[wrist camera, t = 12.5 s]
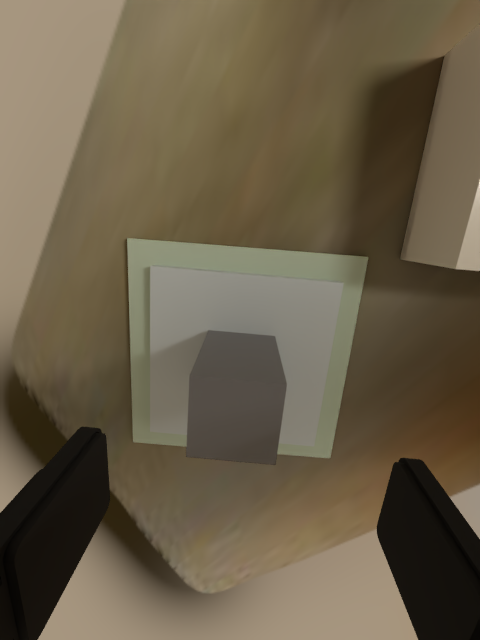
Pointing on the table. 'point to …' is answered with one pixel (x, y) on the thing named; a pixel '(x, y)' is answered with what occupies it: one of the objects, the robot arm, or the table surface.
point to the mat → (244, 261)
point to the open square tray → (450, 168)
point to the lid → (239, 359)
